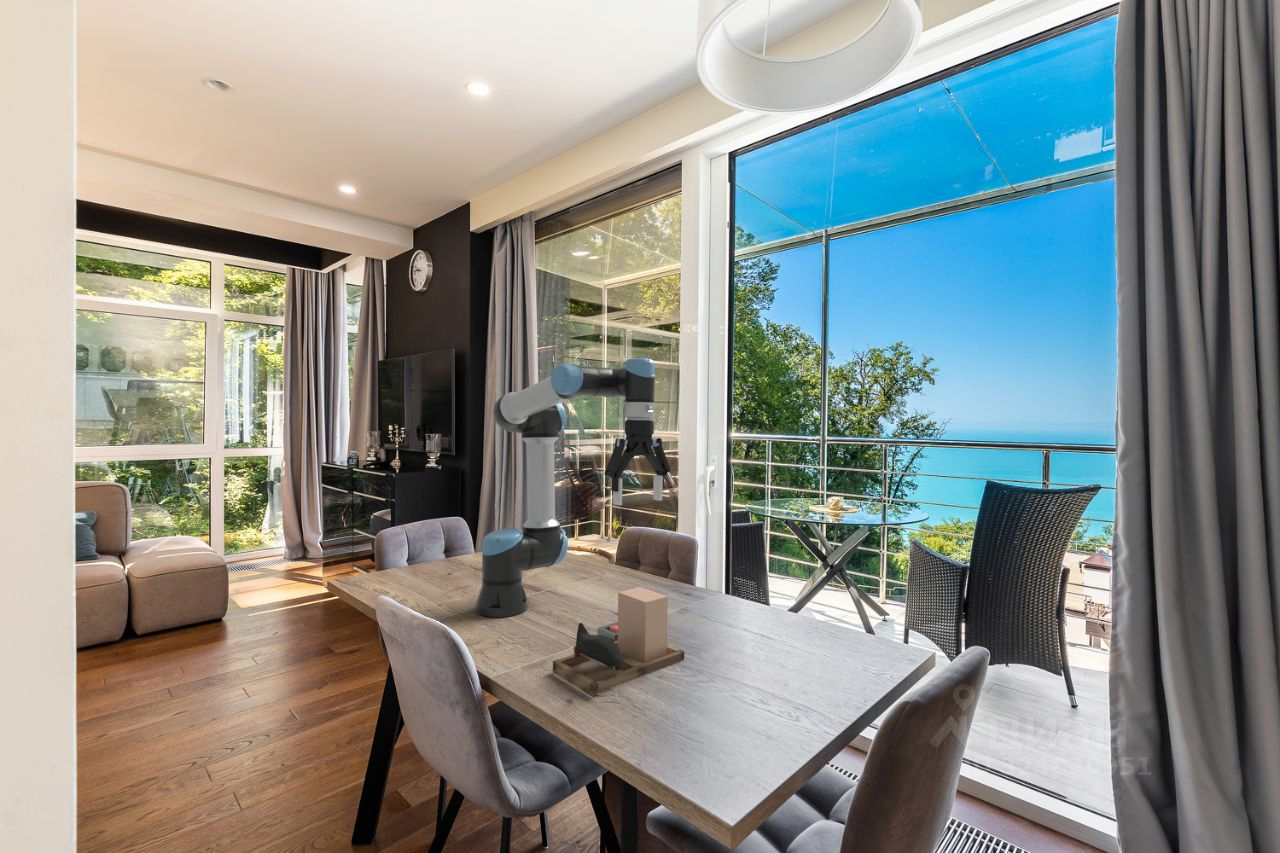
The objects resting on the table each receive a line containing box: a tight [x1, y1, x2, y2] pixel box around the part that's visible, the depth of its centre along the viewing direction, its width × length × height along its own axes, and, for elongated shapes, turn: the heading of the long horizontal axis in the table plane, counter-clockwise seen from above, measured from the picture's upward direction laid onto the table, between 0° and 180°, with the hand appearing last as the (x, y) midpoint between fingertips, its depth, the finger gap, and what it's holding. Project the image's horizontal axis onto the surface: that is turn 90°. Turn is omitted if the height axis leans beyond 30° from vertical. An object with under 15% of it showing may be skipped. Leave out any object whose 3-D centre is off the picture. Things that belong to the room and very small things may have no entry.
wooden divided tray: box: [552, 641, 685, 698], centre depth 135 cm, size 15×27×3 cm, turn 132°
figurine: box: [573, 622, 623, 676], centre depth 130 cm, size 7×10×15 cm
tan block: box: [617, 586, 669, 664], centre depth 139 cm, size 10×7×15 cm
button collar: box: [597, 621, 618, 642], centre depth 151 cm, size 7×7×3 cm
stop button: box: [610, 625, 618, 633], centre depth 151 cm, size 4×4×3 cm
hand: (638, 502), depth 148 cm, fingers open, 13 cm apart
